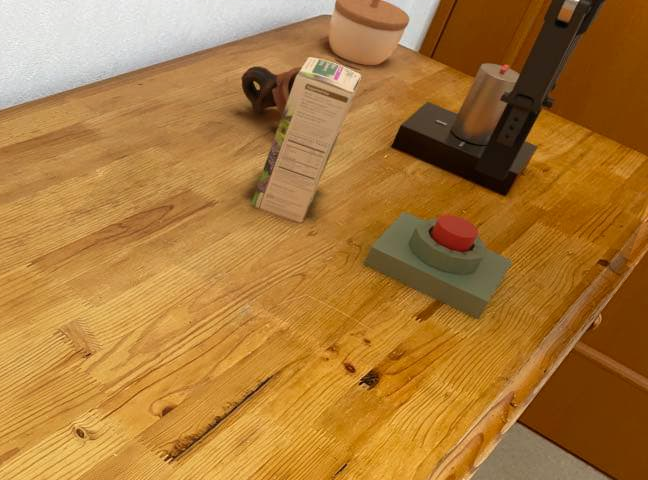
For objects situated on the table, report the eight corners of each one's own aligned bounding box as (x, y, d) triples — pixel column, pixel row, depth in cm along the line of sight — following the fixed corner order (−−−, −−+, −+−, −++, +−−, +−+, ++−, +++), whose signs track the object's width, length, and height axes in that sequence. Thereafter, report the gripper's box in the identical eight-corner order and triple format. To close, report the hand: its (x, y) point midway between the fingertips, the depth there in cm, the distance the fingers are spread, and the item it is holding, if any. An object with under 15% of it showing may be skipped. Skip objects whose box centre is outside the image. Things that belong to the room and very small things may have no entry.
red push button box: (502, 278, 87) (522, 245, 85) (477, 320, 81) (497, 286, 78) (395, 228, 91) (410, 195, 88) (362, 265, 84) (378, 230, 82)
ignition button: (474, 242, 84) (483, 227, 83) (463, 258, 81) (472, 242, 80) (436, 225, 85) (444, 210, 84) (425, 240, 83) (432, 224, 81)
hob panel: (526, 167, 109) (538, 145, 107) (505, 196, 102) (518, 172, 100) (417, 122, 114) (427, 100, 112) (390, 147, 106) (401, 123, 104)
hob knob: (484, 149, 103) (519, 82, 98) (446, 133, 105) (477, 67, 99) (494, 137, 107) (528, 72, 101) (456, 121, 108) (487, 57, 102)
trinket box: (387, 58, 130) (413, -5, 124) (389, 84, 122) (416, 17, 116) (319, 40, 131) (341, -24, 124) (316, 64, 123) (340, -3, 116)
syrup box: (261, 185, 93) (305, 53, 83) (313, 202, 92) (363, 71, 82) (249, 207, 89) (294, 71, 79) (303, 226, 88) (355, 90, 78)
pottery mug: (318, 120, 110) (353, 81, 102) (297, 176, 106) (331, 140, 99) (237, 74, 108) (267, 31, 100) (213, 130, 104) (242, 89, 97)
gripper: (603, -139, 68) (470, 136, 84) (572, -124, 59) (431, 179, 75) (700, -112, 65) (545, 166, 81) (683, -93, 57) (513, 214, 73)
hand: (490, 172), depth 78 cm, fingers closed
